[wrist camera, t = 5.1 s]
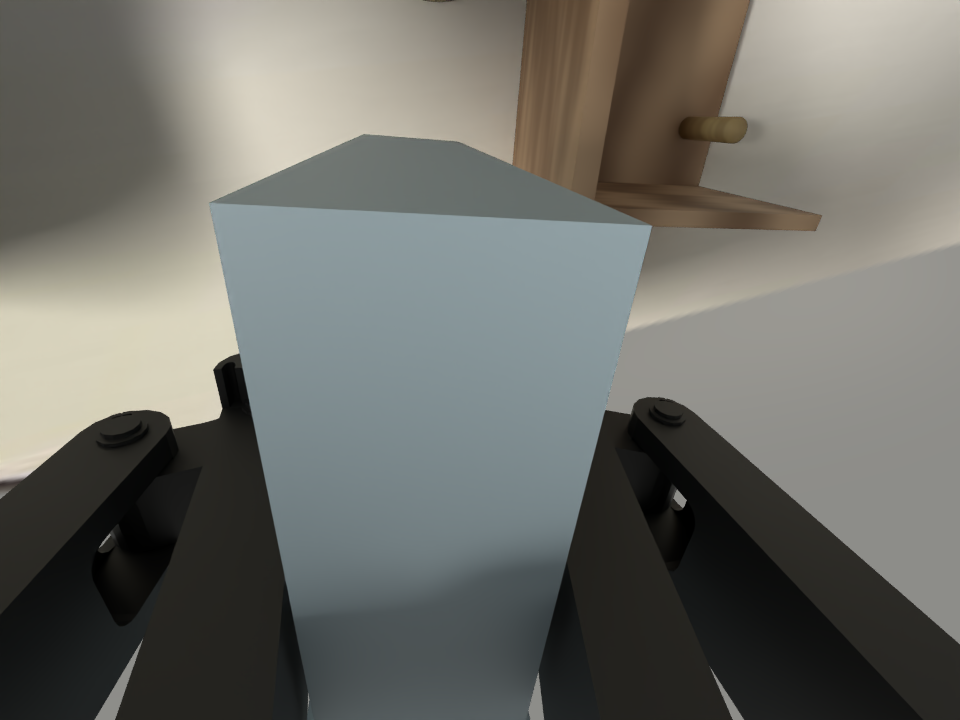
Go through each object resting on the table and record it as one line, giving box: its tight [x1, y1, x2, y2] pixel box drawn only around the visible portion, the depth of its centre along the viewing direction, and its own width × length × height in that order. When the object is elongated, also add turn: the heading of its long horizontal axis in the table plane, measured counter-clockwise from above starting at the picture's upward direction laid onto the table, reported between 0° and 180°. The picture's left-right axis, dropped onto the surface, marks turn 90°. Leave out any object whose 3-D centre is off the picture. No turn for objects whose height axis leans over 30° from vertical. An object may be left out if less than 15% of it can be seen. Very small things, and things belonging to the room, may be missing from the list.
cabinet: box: [513, 0, 822, 231], centre depth 23 cm, size 14×19×12 cm
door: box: [209, 134, 652, 720], centre depth 11 cm, size 5×14×12 cm, turn 176°
